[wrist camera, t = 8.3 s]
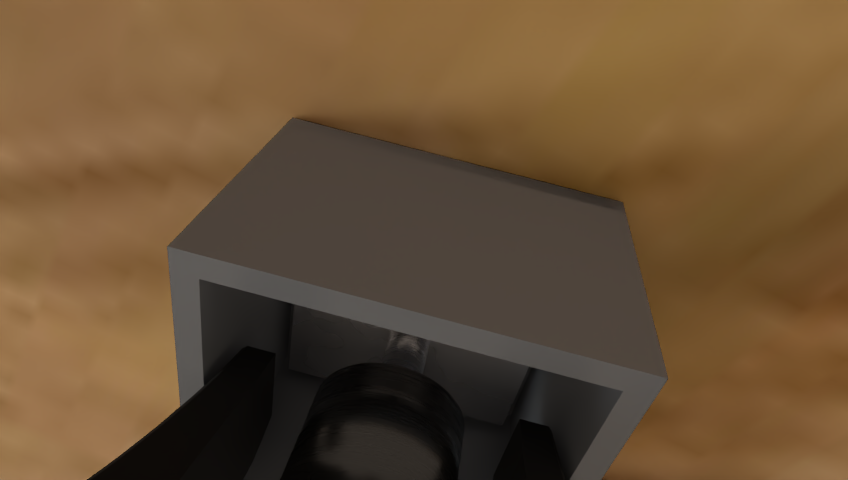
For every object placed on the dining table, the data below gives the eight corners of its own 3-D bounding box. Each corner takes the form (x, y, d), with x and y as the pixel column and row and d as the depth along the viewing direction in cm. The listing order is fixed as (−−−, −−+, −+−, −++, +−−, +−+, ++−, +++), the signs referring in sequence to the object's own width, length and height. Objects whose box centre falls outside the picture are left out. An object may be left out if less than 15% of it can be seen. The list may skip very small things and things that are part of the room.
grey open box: (622, 202, 13) (668, 378, 9) (522, 416, 18) (517, 605, 13) (292, 117, 13) (166, 246, 9) (277, 350, 18) (189, 514, 13)
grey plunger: (579, 236, 13) (604, 460, 8) (503, 410, 17) (489, 637, 12) (313, 167, 13) (181, 346, 8) (296, 354, 17) (196, 556, 12)
